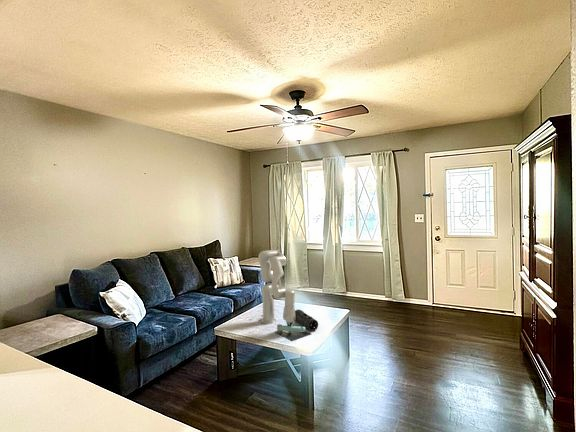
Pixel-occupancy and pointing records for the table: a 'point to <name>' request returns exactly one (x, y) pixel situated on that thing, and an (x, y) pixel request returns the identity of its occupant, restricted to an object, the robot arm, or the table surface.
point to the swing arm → (289, 328)
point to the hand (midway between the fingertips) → (289, 329)
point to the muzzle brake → (306, 320)
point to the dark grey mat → (293, 334)
